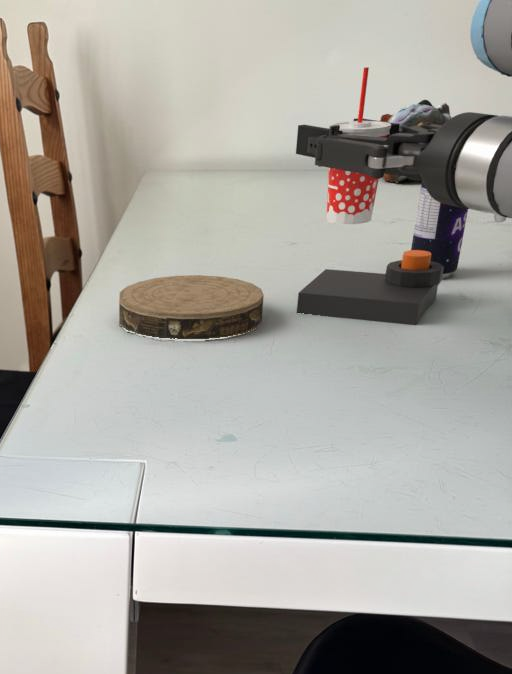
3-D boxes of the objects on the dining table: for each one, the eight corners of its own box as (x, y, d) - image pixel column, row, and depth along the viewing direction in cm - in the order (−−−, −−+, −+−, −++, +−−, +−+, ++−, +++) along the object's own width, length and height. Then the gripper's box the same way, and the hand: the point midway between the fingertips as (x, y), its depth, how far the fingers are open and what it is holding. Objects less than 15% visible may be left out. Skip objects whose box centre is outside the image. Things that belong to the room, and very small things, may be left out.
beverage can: (449, 283, 120) (468, 175, 114) (401, 278, 123) (417, 172, 116) (460, 272, 124) (480, 166, 118) (414, 267, 127) (430, 164, 120)
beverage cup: (325, 212, 109) (341, 65, 101) (383, 214, 107) (404, 64, 99) (312, 224, 105) (327, 71, 97) (372, 227, 102) (393, 70, 94)
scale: (441, 297, 116) (447, 261, 113) (419, 326, 107) (426, 288, 105) (325, 287, 121) (329, 253, 119) (296, 314, 113) (299, 277, 111)
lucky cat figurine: (381, 185, 172) (365, 102, 171) (378, 202, 184) (363, 124, 182) (473, 155, 168) (458, 70, 166) (464, 175, 179) (450, 95, 178)
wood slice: (130, 299, 121) (130, 274, 119) (264, 302, 117) (267, 276, 115) (107, 340, 108) (107, 312, 106) (257, 344, 104) (259, 315, 103)
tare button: (431, 267, 113) (433, 251, 112) (425, 273, 111) (428, 257, 110) (403, 265, 114) (406, 249, 113) (398, 271, 112) (400, 255, 111)
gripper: (388, 223, 87) (246, 184, 105) (560, 196, 92) (397, 164, 110) (401, 126, 83) (251, 104, 101) (581, 105, 88) (408, 87, 106)
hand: (327, 135), depth 105 cm, fingers closed on beverage cup, 6 cm apart
